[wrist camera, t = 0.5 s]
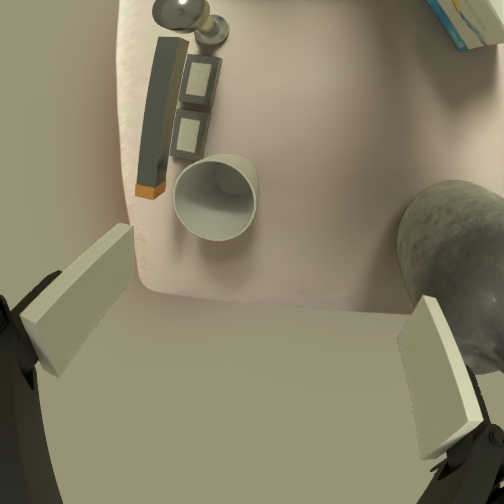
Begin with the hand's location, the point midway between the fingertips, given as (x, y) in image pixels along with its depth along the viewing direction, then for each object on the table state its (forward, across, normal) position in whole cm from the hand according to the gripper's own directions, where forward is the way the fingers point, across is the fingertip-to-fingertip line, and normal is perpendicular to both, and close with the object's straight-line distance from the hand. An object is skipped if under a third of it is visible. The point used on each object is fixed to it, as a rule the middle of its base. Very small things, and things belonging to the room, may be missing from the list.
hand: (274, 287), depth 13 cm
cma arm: (+17, -13, +6) cm, 22 cm away
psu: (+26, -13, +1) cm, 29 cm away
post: (+26, -13, +14) cm, 32 cm away
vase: (+26, +21, -3) cm, 33 cm away
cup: (+26, -7, -4) cm, 27 cm away
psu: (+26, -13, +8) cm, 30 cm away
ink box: (+26, +17, +26) cm, 41 cm away
